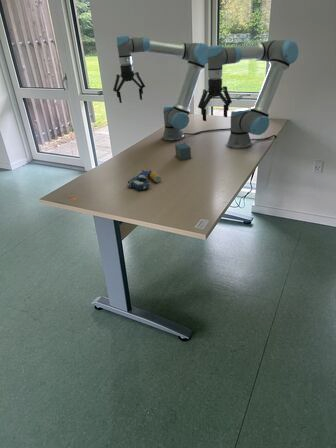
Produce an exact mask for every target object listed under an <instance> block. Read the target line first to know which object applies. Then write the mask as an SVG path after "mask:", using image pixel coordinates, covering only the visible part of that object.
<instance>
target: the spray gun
mask: <svg viewBox="0 0 336 448" xmlns="http://www.w3.org/2000/svg"><path fill="white" fill-rule="evenodd" d="M149 179H150V180H152V181H153V182H154V183H160V182H161V180H162V177H161V175H159V174H158V173H157V172H155V171H152V169H141V170H140V171H139V172H138V173H137V174H136V175H134V176H133V177H132V178H130V179H129V180H128V181H127V184H126V187H129V188H134V189H135V190H138V191H141V190H142V191H143V190H147V189H148V188H149V187H150V182H149Z"/></svg>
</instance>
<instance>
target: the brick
mask: <svg viewBox="0 0 336 448" xmlns="http://www.w3.org/2000/svg"><path fill="white" fill-rule="evenodd" d="M174 147H175V156H176V158H178V159H179V160H180V161H184V160H188V159H191V158H192V153H191V152H192V151H191V150H192V147H191V146H190V145H188V144H187V143H185V142H183V143H178V144H175V145H174Z"/></svg>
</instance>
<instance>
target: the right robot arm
mask: <svg viewBox="0 0 336 448" xmlns="http://www.w3.org/2000/svg"><path fill="white" fill-rule="evenodd" d="M298 57H299V46H298V44H297V42H296V41H294V40H290V39H285V40H284V39H282V40H280V39H279V40H278V39H273V40H267V41H264V42H257V43H255V44H250V45H248V44H247V45H233V46H223V45H222V44H221V45H220V44H217V45H210V46H209V48H208V50H207V52H206V59H207V61H208V63H207V78H208V79H207V87H208V88H207V89H205V88H204V89H202V95H201V97H200V100H199V103H198V105H197V108H198V109H200V111H201V112H200V113H201V115H202V121H203V122H207V109H206V108H207V106H208V104H209V102H210V101H211V99H213V98H216V97H217V98H218V97H219V98H220V100H221V101H222V102H223V103H224V104H223V117H224V118H228V111H229V109H230V108H229V106H230V105H231V104H232V103H233V101H232V99H231V96H230V94H229V90H228V86H225V85H223V78H222V77H223V67H224V65H231V64H237V63H239V62H241V61H250V60H251V61H252V60H254V61H256V62H260V61H261V62H267V63H268V64H269V68H268V71H267V74H266V76H265V78H264V81H263V83H262V86H261V89H260V91H259V94H258V95H257V99H256V101H255V104H254V106H253V107H251V108H238V109H237V108H236V109H234V110H231V112H230V128H231V130H230V135H229V137H228V139H227V146H228V147H229V148H232V149H246V148H249V147H251V145H252V141H264V140H269V139H272V138H274V137H275V138H277V135H276V134H272V135H270V136H268V137H264V138H251V136H250V134H251V135H254V136H261V135H263V134H265V133H266V132H267V131H268V129H269V127H270V119H269V116H270V114H269V110H270V107H271V105H272V102H273V100H274V97H275V95H276V92H277V90H278V87H279V85H280V82H281V80H282V78H283V76H284V73H285V71H287V70H288V69H289V68H290V65H291V64H294V63H295V62H296V61H297V59H298ZM222 92H223V93H222Z"/></svg>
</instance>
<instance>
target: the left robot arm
mask: <svg viewBox="0 0 336 448" xmlns="http://www.w3.org/2000/svg"><path fill="white" fill-rule="evenodd" d="M116 47H117V55H118V60H119V65H120V66H119V68H120V74H118V73H117V74H116V76H115V77H116V78H115V82H114V85H113V89H112V91H113V92H116V97H117V98H118V100H119V101H118V102H119V103H120V104H122V95H121V91H120V90H121V89H122V87H123V85H124V83H125V82H131V81H132V82H133V83H134V84H135V85H136V86H137V87H138V95H139V100H140V101H143V94H144V91H143V89H144V88H146V85H145V83H144V81H143V80H142V78H141V76H140V72H138V71H135V72H134V66H133V59H132V54H134V53H147V54H154V55H162V56H168V57H169V56H170V57H175V58H179V59H180V60H184V61H187V62H186V63H187V66H188V67H187V71H186V74H185V77H184V80H183V83H182V86H181V90H180V92H179V96H178V98H177V102H176V104H174V105H166V106H164V107H163V108H162V109H163V121H164V130H163V135H162V139H163V140H164V141H167V142H176V141H180V140H182V139H184V137H185V135H189V136H193V135H198V134H201V133H206V132H215V131H228V130H230V131H231V127H230V128H229V127H228V128H227V127H226V128H216V129H207V130H200V131H197V132H194V133H192V132H191V133H189V132H183V129H185V128H187V126H188V125H189V123H190V113H191V110H190V105H191V103H192V99H193V96H194V93H195V91H196V89H197V85H198V82H199V78H200V76H201V72H202V71H204V70H205V68H206V66H207V65H208V61H207V59H206V52H207V50H208V48H209V47H210V46H209V45H208V44H206V43H202V42H189V43H186V42H181V43H176V42H175V43H174V42H168V41H161V40H154V39H149V37H146V36H143V37H135V36H133V37H131V38H130V36H129V35H128V34H126V35H118V36H116ZM134 77H136V79H137V80H138V81H139V82H138V81H137V80H136V79H135V78H134ZM120 79H121V80H120ZM119 81H120V82H119Z"/></svg>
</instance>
